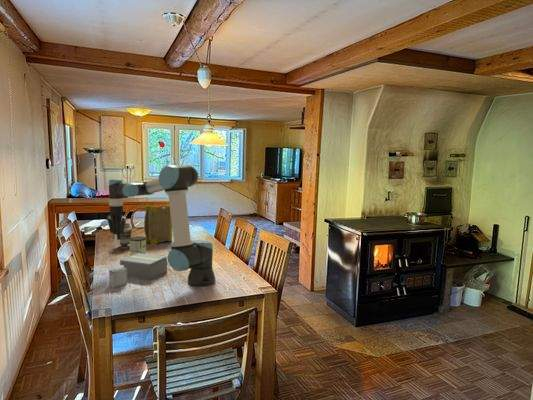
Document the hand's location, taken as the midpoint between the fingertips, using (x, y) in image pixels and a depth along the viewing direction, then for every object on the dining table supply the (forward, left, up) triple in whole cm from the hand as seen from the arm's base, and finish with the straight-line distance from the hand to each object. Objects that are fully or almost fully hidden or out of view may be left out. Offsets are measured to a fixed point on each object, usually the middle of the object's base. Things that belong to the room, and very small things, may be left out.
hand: (117, 244), depth 212 cm
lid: (-18, 0, -9) cm, 20 cm away
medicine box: (-18, +21, -16) cm, 31 cm away
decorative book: (+18, -70, -16) cm, 74 cm away
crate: (-20, 0, -15) cm, 25 cm away
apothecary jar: (+30, -44, -16) cm, 56 cm away
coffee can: (+4, -25, -16) cm, 30 cm away
